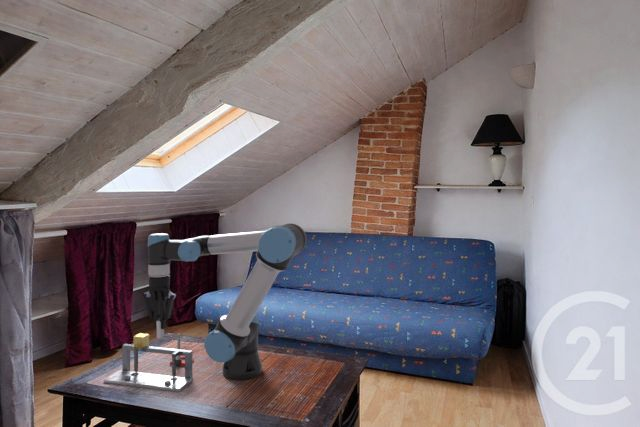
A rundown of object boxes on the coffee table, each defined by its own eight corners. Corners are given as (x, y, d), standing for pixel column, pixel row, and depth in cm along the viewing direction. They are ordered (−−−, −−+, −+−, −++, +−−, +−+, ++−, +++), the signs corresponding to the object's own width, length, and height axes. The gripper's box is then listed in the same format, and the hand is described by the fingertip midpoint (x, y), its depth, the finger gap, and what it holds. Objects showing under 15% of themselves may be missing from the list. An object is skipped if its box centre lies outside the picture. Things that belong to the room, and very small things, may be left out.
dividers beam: (192, 377, 175) (192, 350, 174) (185, 383, 170) (185, 355, 169) (125, 370, 180) (125, 343, 179) (117, 375, 175) (117, 348, 175)
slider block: (149, 368, 179) (149, 334, 178) (140, 374, 173) (139, 339, 172) (139, 367, 180) (139, 333, 179) (130, 373, 174) (130, 338, 173)
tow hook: (177, 358, 195) (167, 365, 186) (178, 327, 194) (168, 333, 185) (196, 359, 193) (187, 367, 184) (197, 328, 193) (188, 335, 184)
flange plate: (191, 381, 172) (191, 376, 172) (179, 391, 163) (179, 386, 163) (119, 372, 178) (119, 367, 178) (103, 382, 169) (103, 377, 169)
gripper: (180, 273, 176) (181, 335, 177) (149, 272, 178) (150, 332, 180) (169, 277, 168) (171, 341, 170) (137, 276, 171) (139, 339, 173)
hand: (160, 337), depth 175 cm, fingers closed
